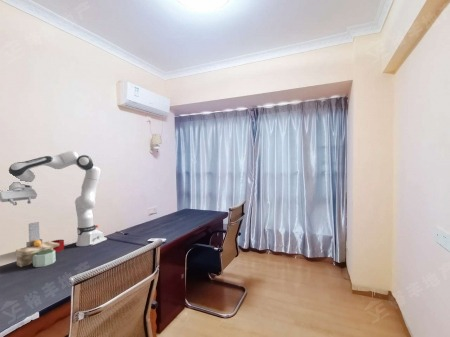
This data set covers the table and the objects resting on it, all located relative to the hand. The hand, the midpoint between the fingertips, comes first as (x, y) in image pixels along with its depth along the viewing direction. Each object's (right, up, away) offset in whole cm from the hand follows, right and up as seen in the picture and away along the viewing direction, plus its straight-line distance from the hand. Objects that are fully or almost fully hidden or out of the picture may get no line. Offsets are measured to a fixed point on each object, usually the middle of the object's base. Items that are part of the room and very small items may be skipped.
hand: (22, 203), depth 160 cm
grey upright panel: (+14, -27, -6) cm, 31 cm away
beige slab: (+19, -37, -9) cm, 42 cm away
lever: (+13, -38, +9) cm, 41 cm away
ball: (+17, -25, -8) cm, 31 cm away
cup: (+25, -37, -12) cm, 46 cm away
